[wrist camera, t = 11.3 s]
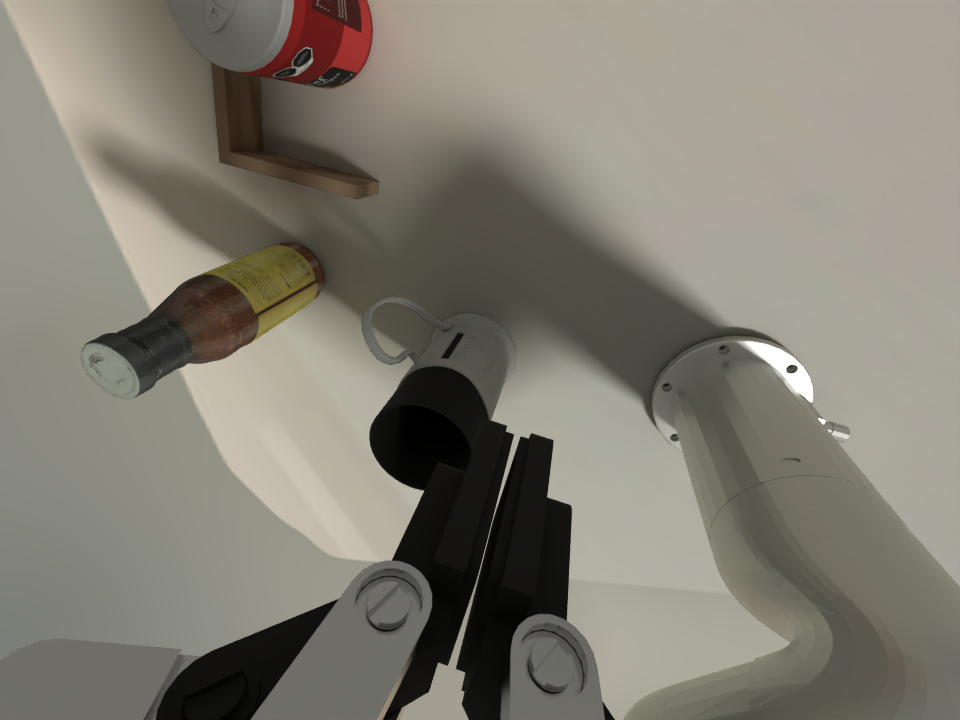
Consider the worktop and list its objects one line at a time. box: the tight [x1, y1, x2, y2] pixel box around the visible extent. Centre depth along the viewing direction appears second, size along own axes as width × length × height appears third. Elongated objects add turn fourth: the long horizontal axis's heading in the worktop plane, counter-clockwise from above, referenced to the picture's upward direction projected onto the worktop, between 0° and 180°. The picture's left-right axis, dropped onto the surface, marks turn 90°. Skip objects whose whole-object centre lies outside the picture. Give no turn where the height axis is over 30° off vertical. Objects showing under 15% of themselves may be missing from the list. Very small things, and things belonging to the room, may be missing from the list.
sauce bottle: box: [81, 243, 323, 399], centre depth 34 cm, size 6×6×20 cm
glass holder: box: [361, 296, 516, 491], centre depth 35 cm, size 9×14×15 cm, turn 26°
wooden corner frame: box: [212, 63, 379, 199], centre depth 31 cm, size 12×21×4 cm, turn 168°
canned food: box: [167, 0, 373, 88], centre depth 28 cm, size 8×8×11 cm
